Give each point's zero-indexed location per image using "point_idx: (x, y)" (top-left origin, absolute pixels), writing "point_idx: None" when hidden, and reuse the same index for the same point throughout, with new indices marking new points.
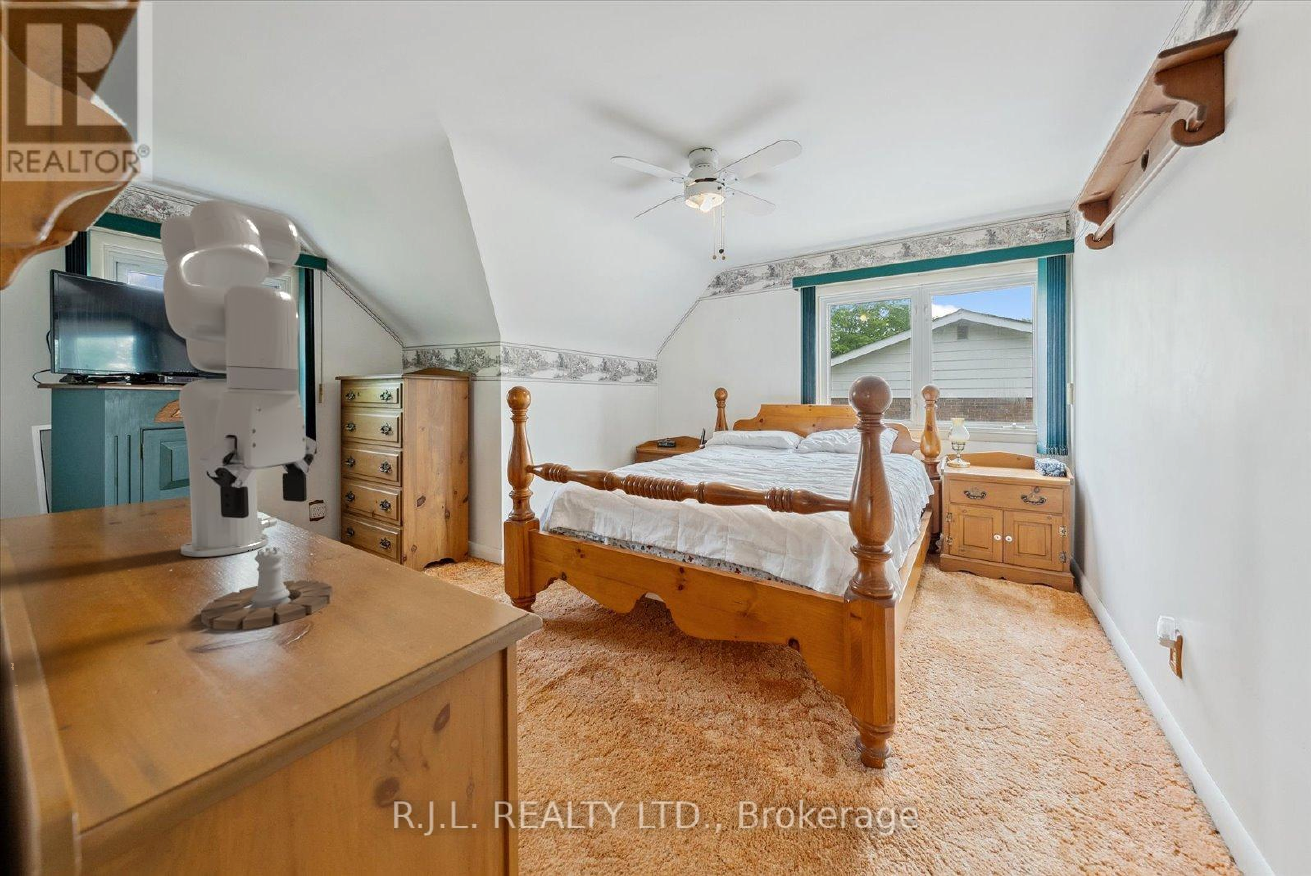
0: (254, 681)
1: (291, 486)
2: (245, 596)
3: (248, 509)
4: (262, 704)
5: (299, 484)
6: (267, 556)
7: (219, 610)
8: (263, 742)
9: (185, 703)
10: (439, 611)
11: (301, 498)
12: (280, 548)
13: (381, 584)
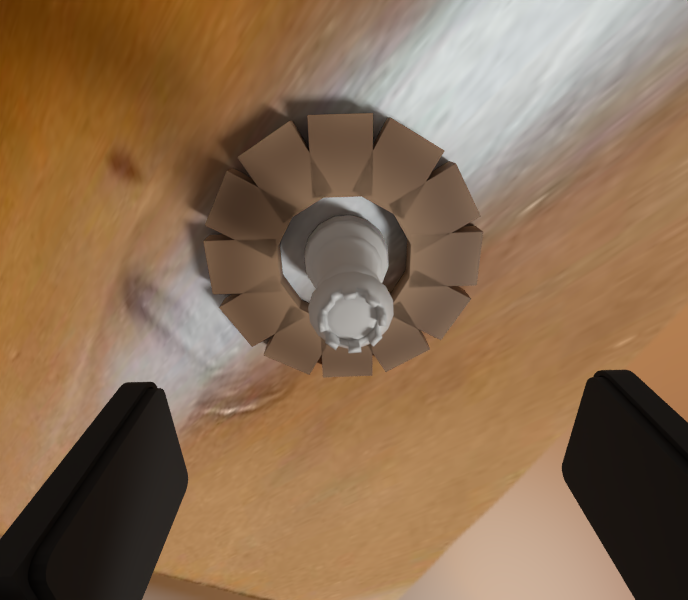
0: None
1: (636, 507)
2: (345, 186)
3: (176, 513)
4: None
5: (631, 570)
6: (322, 334)
7: (250, 204)
8: None
9: (18, 416)
10: (371, 536)
11: (571, 483)
12: (373, 346)
13: (503, 390)
